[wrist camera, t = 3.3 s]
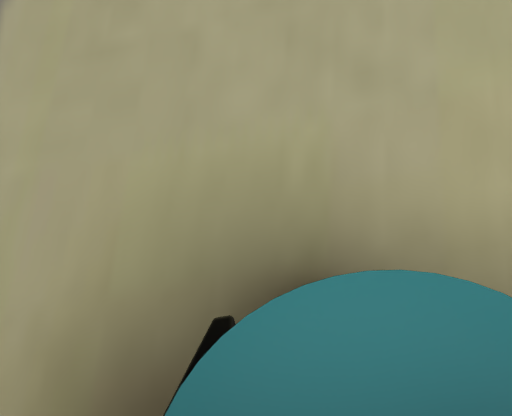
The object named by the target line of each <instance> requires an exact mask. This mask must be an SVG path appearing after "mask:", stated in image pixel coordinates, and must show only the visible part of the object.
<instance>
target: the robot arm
mask: <svg viewBox="0 0 512 416" xmlns="http://www.w3.org/2000/svg"><path fill="white" fill-rule="evenodd" d="M235 325H236V324H235V321H234V318H233V317H232V316H230V315H228V316H223V317H217V318H215V319H214V320H213V321H212V323H211V325H210V327H209V329H208V331H207V332H206V334H205V336H204V338H203V340H202V342H201V344H200V346H199V348H198V350H197V352H196V354H195V356H194V357H193V359H192V361H191V363H190V365H189V367H188V369H187V371H186V373H185V375H184V377H183V379H182V381H181V382H180V384H179V386H178V388H177V390H176V392H175V394H174V396H173V398H172V400H171V402H170V404H169V406H168V408H167V409H166V411H165V413H164V415H163V416H165V414H166V412H167V410H168V409H169V407H170V405H171V403H172V401H173V399H174V397H175V396H176V394H177V392H178V390H179V388H180V387H181V385H182V384H183V382H184V381H185V380H186V378H187V377H188V375H189V374H190V373H191V371H192V370H193V368H194V367H195V366H196V364H197V363H198V361H199V360H200V359H201V358H202V357H203V356H204V355H205V354H206V353H207V352H208V351H209V349H210V348H211V347H212V346H213V345H214V344H215V343H216V342H217V341H218V340H219V339H220V338H221V337H222V336H223V335H224V334H225V333H226V332H228V331H229V330H230V329H231V328H232V327H234V326H235Z"/></svg>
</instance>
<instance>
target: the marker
mask: <svg viewBox="0 0 512 416" xmlns="http://www.w3.org/2000/svg"><path fill="white" fill-rule="evenodd" d="M165 416H512V298H511V297H510V296H508V295H506V294H504V293H501V292H498V291H495V290H493V289H490V288H487V287H484V286H482V285H479V284H476V283H473V282H470V281H467V280H462V279H458V278H454V277H449V276H445V275H441V274H436V273H428V272H418V271H408V270H377V271H363V272H357V273H350V274H344V275H338V276H333V277H330V278H326V279H323V280H320V281H316V282H313V283H310V284H306V285H303V286H301V287H299V288H296V289H294V290H292V291H290V292H288V293H285V294H283V295H281V296H279V297H277V298H274V299H273V300H271V301H270V302H268V303H266V304H265V305H263V306H262V307H260V308H258V309H257V310H255V311H254V312H252V313H250V314H249V315H247V316H246V317H245V318H243V319H242V320H241V321H240V322H239V323H237V324H236V325H235V326H234V327H232V328H231V329H230V330H229V331H228V332H226V333H225V334H224V335H223V336H222V337H221V338H220V339H219V340H218V341H217V342H216V343H215V344H214V345H213V346H212V347H211V348H210V349H209V351H208V352H207V353H206V354H205V355H204V356H203V357H202V358H201V359H200V360H199V361H198V363H197V364H196V366H195V367H194V368H193V370H192V371H191V373H190V374H189V375H188V377H187V378H186V380H185V381H184V382H183V384H182V385H181V387H180V388H179V390H178V392H177V394H176V396H175V397H174V399H173V401H172V403H171V405H170V407H169V409H168V410H167V412H166V414H165Z"/></svg>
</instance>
